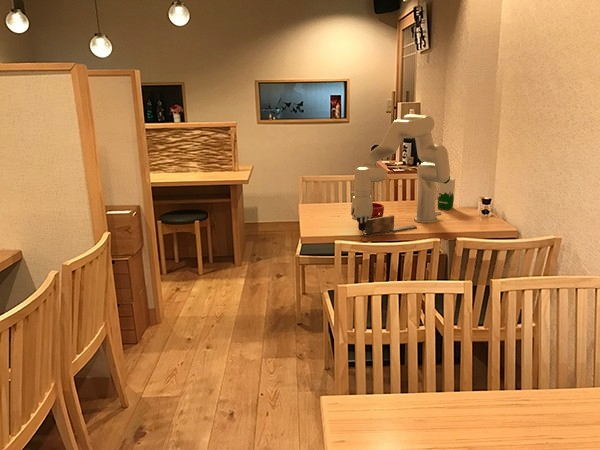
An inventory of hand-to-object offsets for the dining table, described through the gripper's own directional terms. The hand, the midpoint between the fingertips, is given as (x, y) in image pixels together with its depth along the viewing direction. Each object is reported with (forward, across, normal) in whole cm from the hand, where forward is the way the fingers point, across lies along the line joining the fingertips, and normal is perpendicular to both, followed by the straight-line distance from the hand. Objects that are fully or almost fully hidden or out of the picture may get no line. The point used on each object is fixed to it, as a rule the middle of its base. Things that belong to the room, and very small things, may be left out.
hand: (361, 230), depth 243 cm
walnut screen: (+2, -11, 0) cm, 11 cm away
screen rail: (+4, -18, 0) cm, 18 cm away
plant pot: (+4, -14, -12) cm, 19 cm away
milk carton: (+4, -75, -23) cm, 79 cm away
